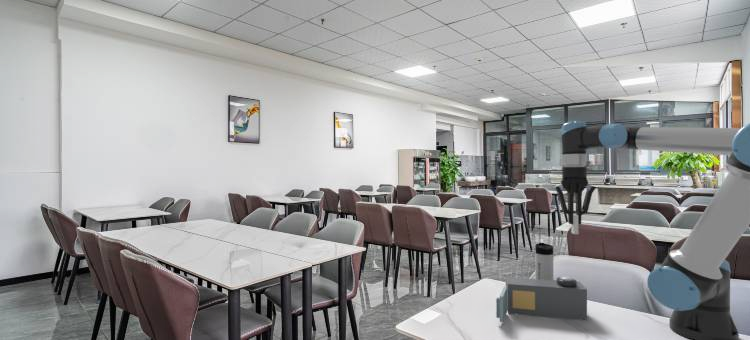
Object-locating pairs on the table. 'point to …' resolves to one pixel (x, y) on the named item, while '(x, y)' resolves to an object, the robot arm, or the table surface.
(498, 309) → the side door
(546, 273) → the travel mug
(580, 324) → the table surface
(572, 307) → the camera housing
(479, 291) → the table surface
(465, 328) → the table surface
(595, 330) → the table surface
